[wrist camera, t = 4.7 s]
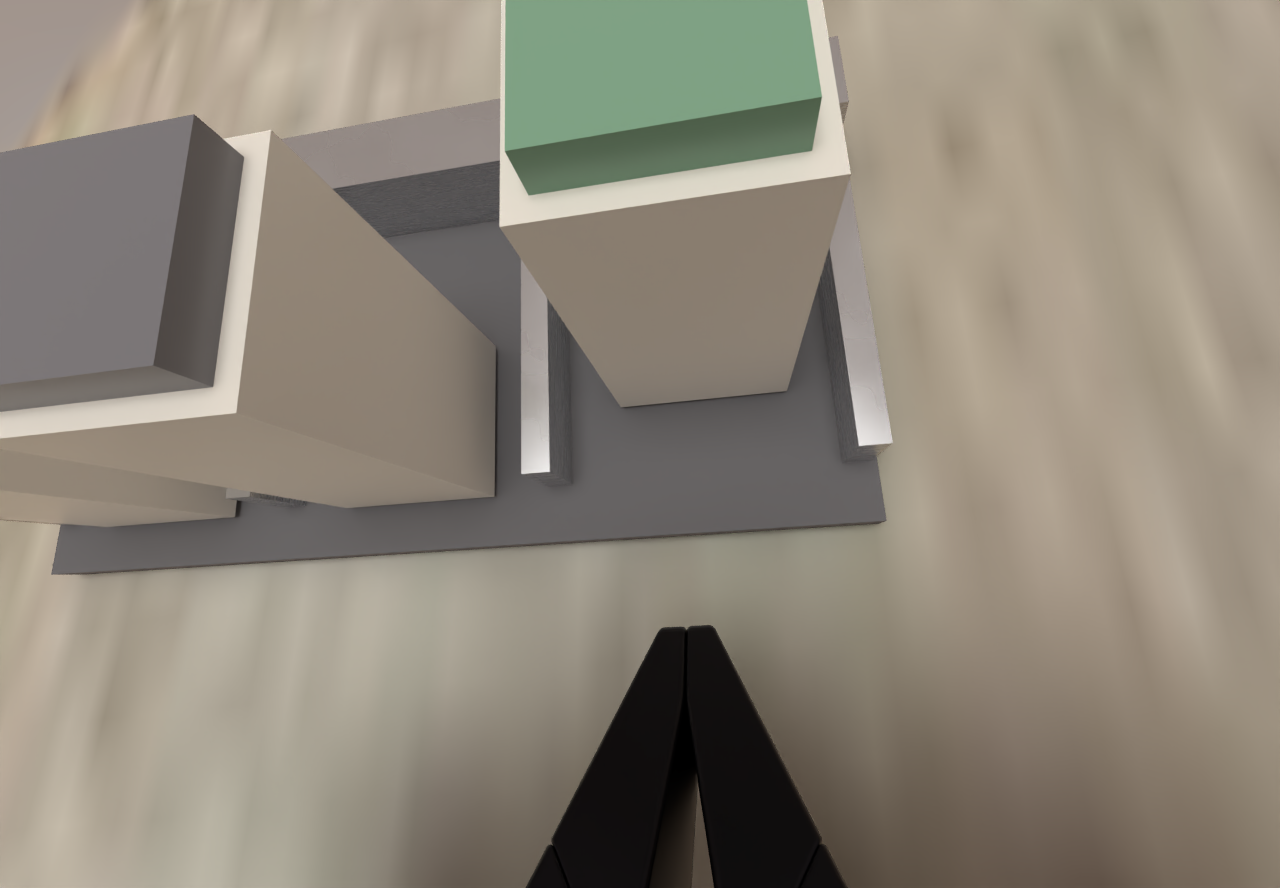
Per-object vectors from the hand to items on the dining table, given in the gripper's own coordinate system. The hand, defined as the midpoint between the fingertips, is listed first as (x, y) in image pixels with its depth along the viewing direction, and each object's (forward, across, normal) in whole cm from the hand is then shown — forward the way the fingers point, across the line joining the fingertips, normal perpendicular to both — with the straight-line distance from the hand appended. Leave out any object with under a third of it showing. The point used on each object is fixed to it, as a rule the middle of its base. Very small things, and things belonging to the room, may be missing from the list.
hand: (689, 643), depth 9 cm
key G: (+10, 0, -1) cm, 10 cm away
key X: (+8, +8, 0) cm, 11 cm away
